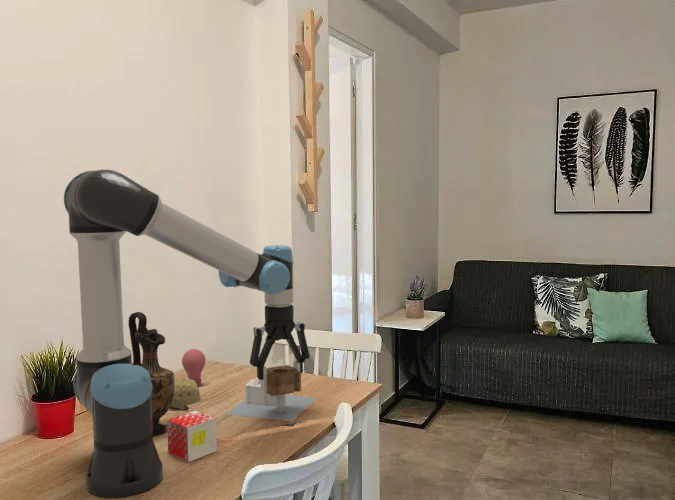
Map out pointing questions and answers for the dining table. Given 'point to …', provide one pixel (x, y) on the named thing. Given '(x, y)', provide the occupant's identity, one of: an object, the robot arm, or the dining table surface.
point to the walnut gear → (283, 380)
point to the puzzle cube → (191, 435)
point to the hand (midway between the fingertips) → (280, 388)
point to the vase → (152, 367)
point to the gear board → (275, 408)
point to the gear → (257, 394)
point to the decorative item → (184, 393)
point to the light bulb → (194, 364)
